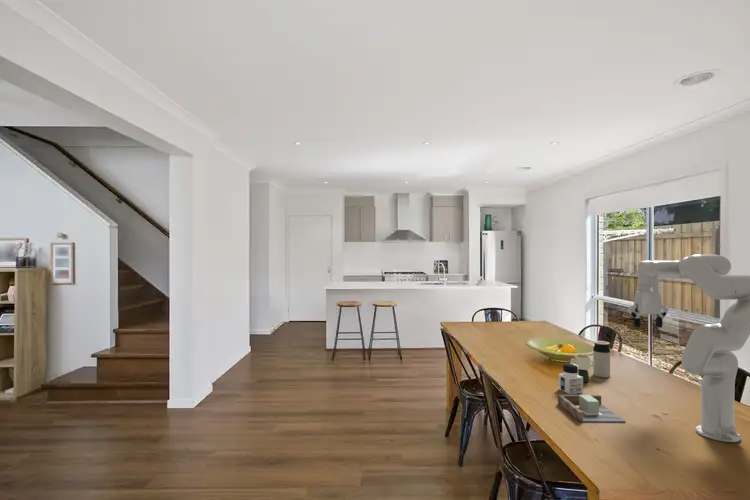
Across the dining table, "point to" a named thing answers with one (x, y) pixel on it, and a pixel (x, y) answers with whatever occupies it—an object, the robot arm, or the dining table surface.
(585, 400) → the sage block
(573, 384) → the container
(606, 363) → the travel mug
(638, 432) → the dining table surface
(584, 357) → the character mug
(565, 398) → the shallow tray
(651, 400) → the dining table surface
